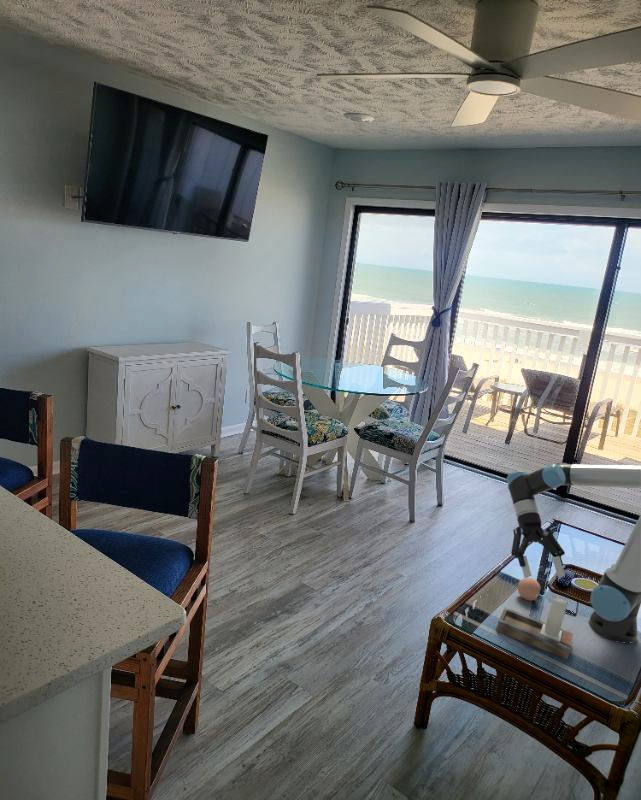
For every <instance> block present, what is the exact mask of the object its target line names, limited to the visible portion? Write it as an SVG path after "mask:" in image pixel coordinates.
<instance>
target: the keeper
mask: <svg viewBox="0 0 641 800" xmlns="http://www.w3.org/2000/svg"><path fill="white" fill-rule="evenodd" d="M567 604H568V603H567V602H566V601H565V600H563V599H561V598H557V597H555V596H554V597H552V602H551V605H550V608H549V612H548V616H547V618H546V622H545V623H546V625H545V624H543V626H542V629H541V633H540V635H542V636H544V637H547V638H549V639H552V640H554V641H557V642H559V643H560V640H561V635H562V631H561V630H560V629H562V628H561V627H562V625H563V622H564V619H565V614H566V613H565V611H566V607H567Z"/></svg>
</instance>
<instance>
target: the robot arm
mask: <svg viewBox="0 0 641 800" xmlns="http://www.w3.org/2000/svg"><path fill="white" fill-rule="evenodd" d="M506 482H507V487H508V490H509V494H510V497H511V501H512V505H513V509H514V512H515V516H516V517H517V519H516V520H517V524H518V526H517V527H515V528H514V529H513V530H512V531H513V540H512V546H511V553H510V555H511V556H514V557H515V559H517V560H518V564H519V567H520V568H521V570H522V573H523V578H530V577H531V576H532V571H531V568H530V565H529V561H528V557H527V555H525V553H526V550H527V548H528V546H529V544H530V543H538V544H540V545H541V546H542V547H544V549H545V550H546V551H547V552H548V553H549V554H550V555H551V556H552V562H553V565H554V566H553V567H554V568H555V571H556V575H557V579H561V578H563V577H566V574H565V571H564V562H563V560H562V556H564V555H565V553H566V552H565V551H564V549H563V548H562V546H561V545H560V543H559V542H558V541H557V539H556V537H555V536H554V535H553V532H552V531H551V528H549V527H547V528H545V529H543V528H542V519H541V516H540V513H539V509H538V507H537V506H538V505H537V502H536V499H535V496H537V495H539V494H541V493H544V492H547V491H549V490H552V489H556V488H559V487H560V486H579V487H600V488H601V487H602V488H620V489H621V488H622V489H623V488H625V489H641V465H629V464H628V465H624V464H623V465H622V464H621V465H620V464H618V465H617V464H585V463H583V464H581V463H580V464H579V463H577V464H575V463H574V464H572V463H571V464H570V463H566V462H557V463H552V464H551V465H550V464H549V465H546V466H545V467H542V468H539V469H538V470H535V471H533V472H531V473H530V472H529V473H527V471H524V470H517V471H513V472H511V473H509V474H508V475H507V477H506ZM522 535H523V537H522ZM590 604H591V607H592V609H593V612H592V613H591V615H590V617H589V619H588V623H589V627H591V628H592V630H593V631H595V632H596V633H597V634H598V635H601V636H602V637H604V638H606V639H609V640H611V641H614V642H616V641H618V642H617V643H620V642H625V643H624V644H627V643H629V644H631V643H630V642H634V641H635V640H636V641H637V638H638V632H639V631H638V622H637V621H638V614H639V611H640V607H641V514H640V516H639V518H638V520H637V521H636V523H635V525H634V527H633V529H632V530H631V533H630V535H629V537H628V538H627V540H626V542H625V544H624V547H623V548H622V550H621V551H620V554H619V556H618V557H617V559H616V561H615V563H614V564H612V565H611V566H610V567H608V568H606V569H605V571H604V573H603V574H602V577H601V578H600V580H599V582H598V584H597V586H595V587H594V588H593V589H592V591H591V594H590ZM636 641H635V642H636ZM635 642H634V643H635Z"/></svg>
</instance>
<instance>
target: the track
mask: <svg viewBox="0 0 641 800" xmlns="http://www.w3.org/2000/svg"><path fill="white" fill-rule="evenodd" d="M543 624H545V625H546V622H544V621H542V620H539V619H536V618H534V617H532V616H529V615H526V614H524V613H521V612H518V611H515V610H513V609H511V608H508V607H504V608H503V611H502V612H501V615H500V617H499V620H498V622H497V625H496V631H497V632H499V633H501V634H504V635H506V636H508V637H511V638H514V639H516V640H519V641H521V642H524V643H526V644H529V645H531V646H533V647H535V648H538V649H541V650H543V651H546V652H548V653H551V654H553V655H556V656H557V657H561V658H564V659H566V660H568V659H569V655H570V653H571V648H572V643H573V639H574V638H573V637H574V632H573V633H572V632H570V631H567V630H565V629H562V628H561V629H560V630H561V631H562V635H561V640H560V643H559V642H557V641H554V640H552V639H549V638H547V637H544V636H542V635H540V633H541V629H542V626H543Z"/></svg>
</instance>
